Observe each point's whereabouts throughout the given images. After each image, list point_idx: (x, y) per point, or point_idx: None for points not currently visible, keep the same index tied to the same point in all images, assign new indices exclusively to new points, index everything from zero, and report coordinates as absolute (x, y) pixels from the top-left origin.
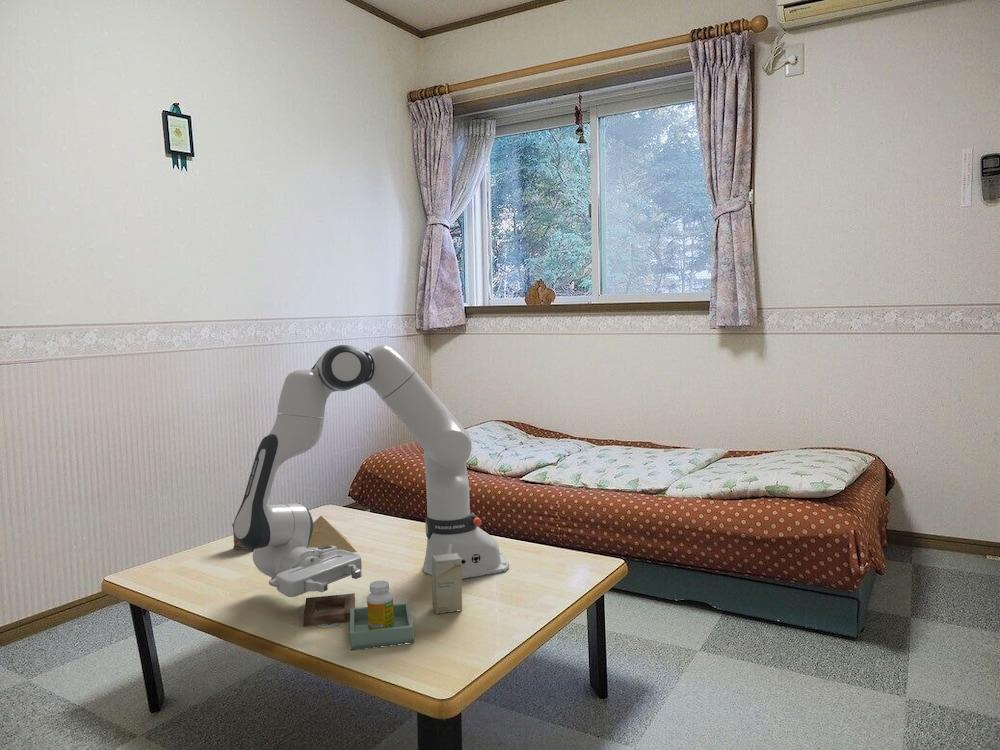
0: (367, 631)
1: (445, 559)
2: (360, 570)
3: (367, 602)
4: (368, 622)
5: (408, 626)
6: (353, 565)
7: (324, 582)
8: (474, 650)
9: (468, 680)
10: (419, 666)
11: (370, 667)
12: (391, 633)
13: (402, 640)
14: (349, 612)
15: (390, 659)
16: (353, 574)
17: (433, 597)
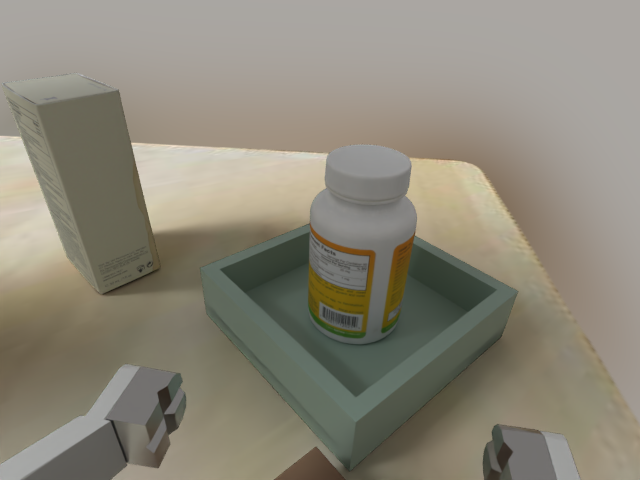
0: (463, 263)
1: (91, 84)
2: (128, 366)
3: (411, 239)
4: (399, 305)
5: None
6: (6, 478)
7: (515, 446)
8: (314, 176)
9: None
10: (427, 207)
11: (510, 261)
12: None
13: None
14: (331, 471)
15: (449, 248)
16: (157, 427)
17: (120, 245)
